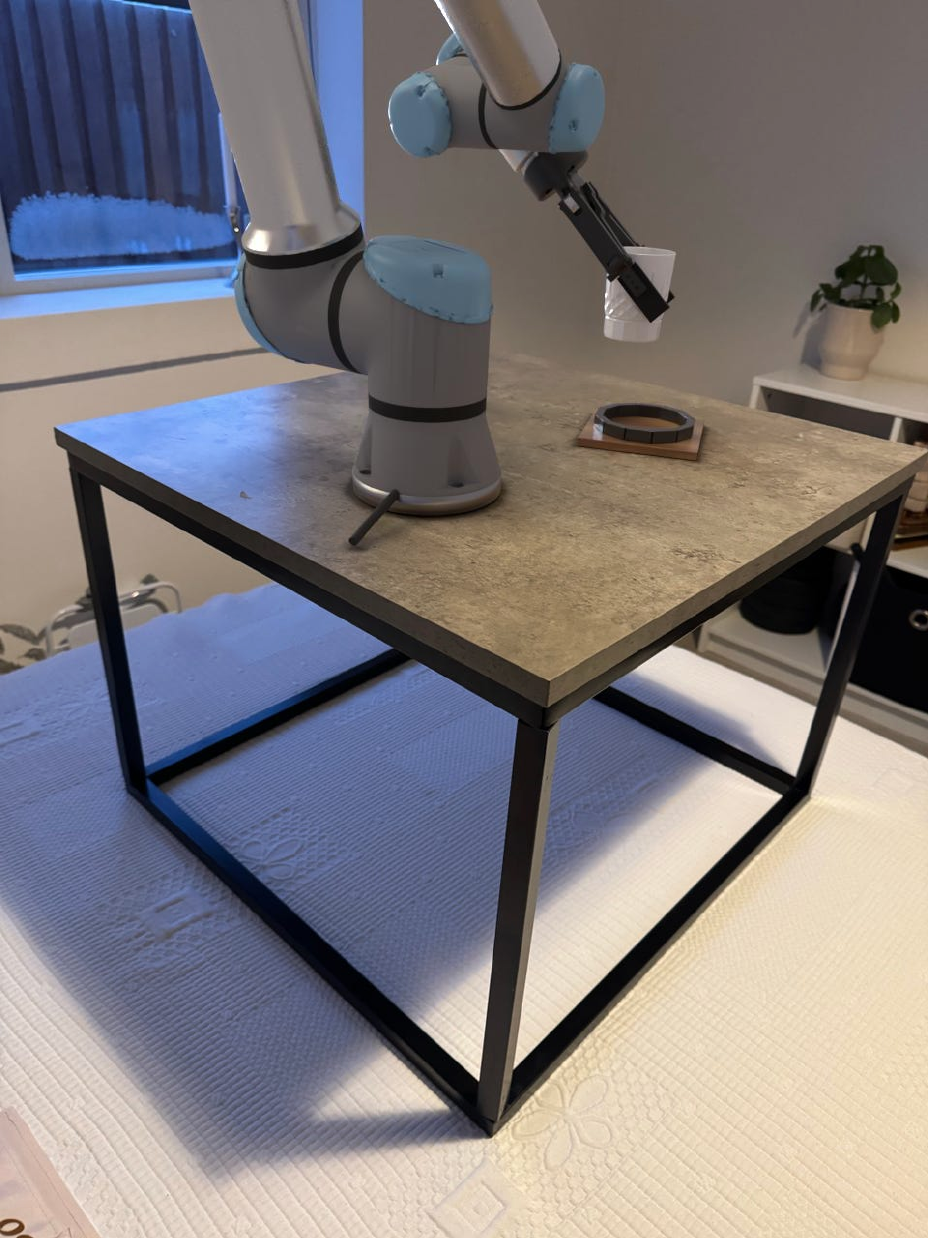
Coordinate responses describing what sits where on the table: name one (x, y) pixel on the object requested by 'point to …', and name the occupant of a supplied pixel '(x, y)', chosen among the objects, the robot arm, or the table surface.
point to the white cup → (620, 308)
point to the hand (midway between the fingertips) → (663, 309)
